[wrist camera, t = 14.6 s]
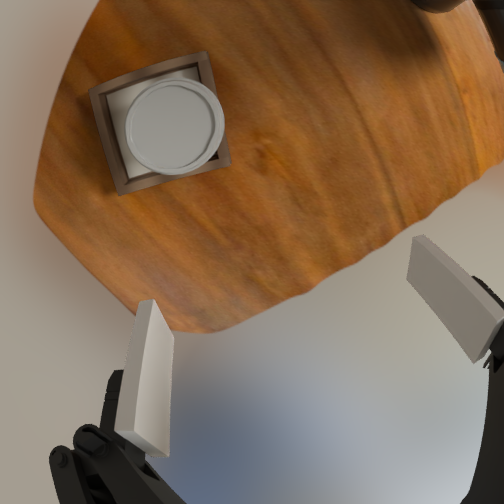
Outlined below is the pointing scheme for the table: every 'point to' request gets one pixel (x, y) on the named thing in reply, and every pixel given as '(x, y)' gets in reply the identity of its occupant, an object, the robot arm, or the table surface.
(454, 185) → the table surface
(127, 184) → the holder
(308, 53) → the table surface
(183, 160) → the disposable coffee cup
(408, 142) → the table surface
